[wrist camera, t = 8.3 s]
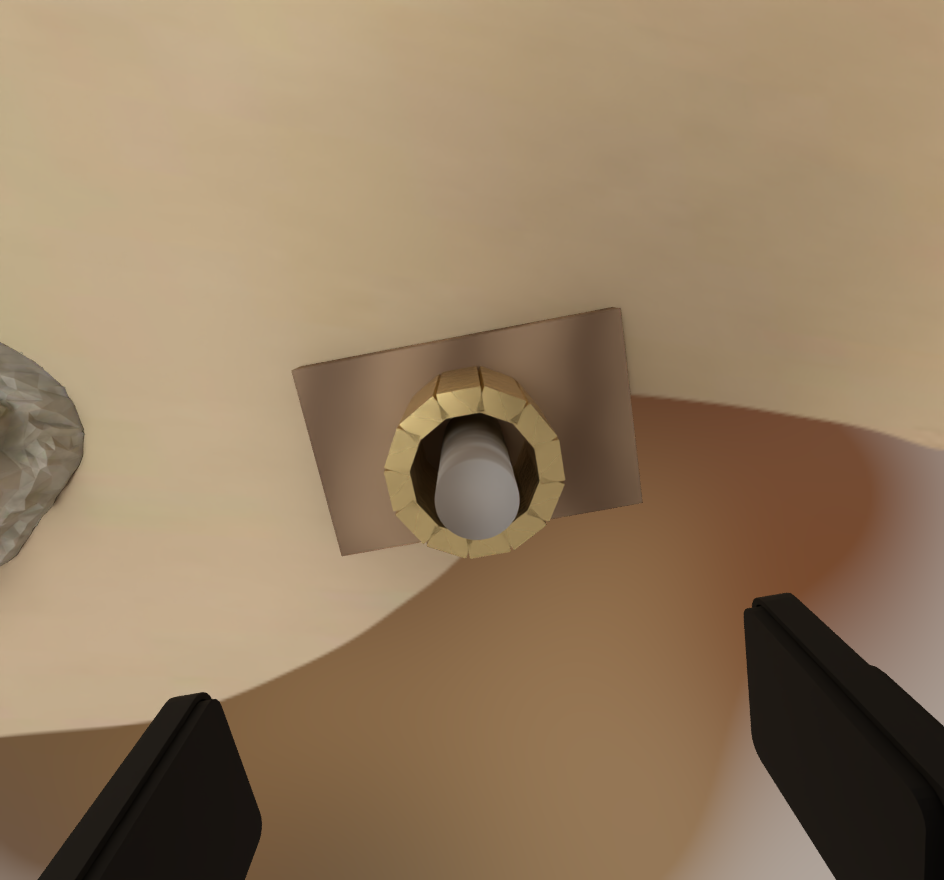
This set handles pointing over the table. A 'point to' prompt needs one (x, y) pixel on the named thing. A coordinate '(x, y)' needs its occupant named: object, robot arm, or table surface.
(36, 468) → the ceramic cottage
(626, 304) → the table surface
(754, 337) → the table surface
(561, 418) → the post board
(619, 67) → the table surface
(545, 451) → the ring
